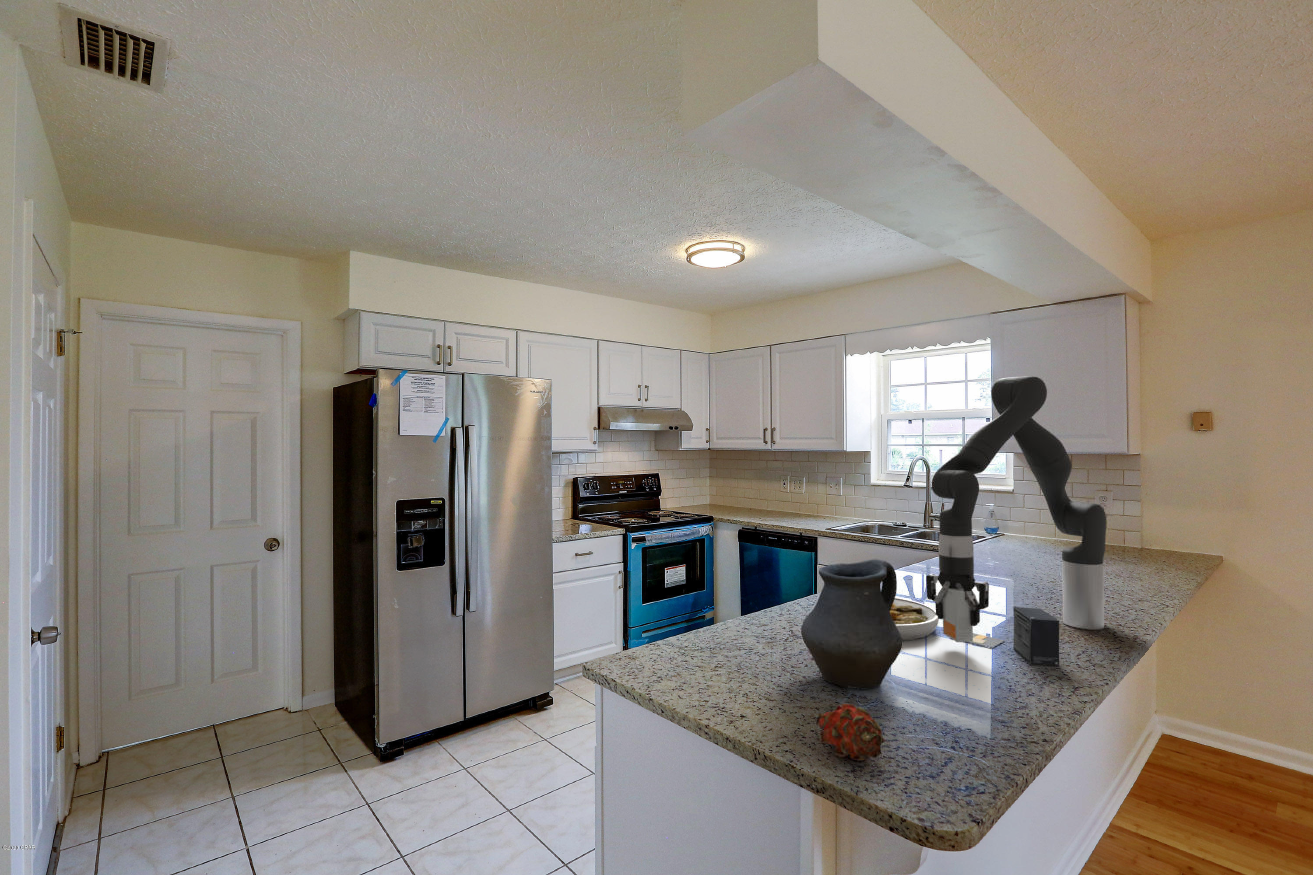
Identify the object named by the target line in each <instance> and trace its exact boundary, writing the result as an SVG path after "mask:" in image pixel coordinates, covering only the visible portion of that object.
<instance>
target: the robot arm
mask: <svg viewBox="0 0 1313 875" xmlns="http://www.w3.org/2000/svg"><path fill="white" fill-rule="evenodd" d="M990 393H991V394H990V397H991V400H992V404H993V406H994V408H995V410H996V411H997V413H998V414H999V415H998V416H997V417H995V418H994V419H993V420H990V421H989V422H988V423H987V424H985V425H983V426H982V427H980V428H979V429H978V430H976V431H975V432H974V433H973V434H972V435H971V436H970V437H969V438H968V440H967V441H966V442H965V444H964V445H963V447H961V449H960V450H959V452H958V453H957V454H955V455H954V456H952V457H951V458H950V459H949V460H948V461H947V462H945V463H944V464H943V465H942V466H940V467H939V468H938V469H937V470H936V471H935V473H934V474H933V477H932V479H931V485H930V486H931V490H932V491H933V492H932V493H933V494H935V496H937V497H938V498H942V499H948V500H953V502H952V506H951V507H950V508H946V509H943V510H941V511H940V513H939V519H938V520H939V521H938V522H939V537H938V548H937V550H938V571H939V574H937V575H936V574H935V573H931V574H928V575H926V577H925V582H926V599H928V600H931V601H933V602H934V603H935V604H934V605H935V610H936V616H938V619H939V620H943V597H944V596H945V593H946V592H947V590H948V588H951V589H957V590H959V591H964V592H965V596H966V597H965V601H966V602H967V603H968V604H969V606H970V607H971V609H972V610H970V615H971V626H973V627H975V626H977V625H978V624H980V622H981V610H985V609H986V608H988V607H989V606H990V605H989V602H990V601H989V600H990V597H989V596H990V585H989V584H990V583H989V582H987V581H984V582H981V581H976V579H975V575H974V574H975V562H974V560H975V558H974V557H975V556H974V554H975V552H974V550H975V549H974V540H973V522H972V521H973V519H972V518H973V514H974V511H975V508H976V503H977V501H978V496H979V492H980V483H979V480H978V478H977V476H976V475H979V474H981V473H983V472H984V471H985V470H986V469H987V468H988V467H989V465H990V464H991V462H992V461H993V460H994V458H995V457H996V455H997V454H998V453H999V451H1000V450H1001V449H1002V447H1004V445H1005V444H1006V443H1007V442H1008V441H1009V439H1011V438H1012V437H1014V439H1015V441H1016V443H1017V444H1018V446H1019V448H1020V450H1021V452H1022V454H1023V456H1024V458H1025V461H1026V464H1027V465H1028V466H1029V468H1030V470H1031V472H1032V474H1033V475H1034V477H1035V479H1036V481H1037V484H1038V485H1039V488H1040V489H1041V491H1042V492H1041V493H1042V495H1043V497H1044V498H1045V502H1046V504H1047V507H1048V509H1049V512H1050V516H1051V518H1052V521H1053V524H1054V525H1055V527H1056V528H1057V530H1058V531H1059V532H1060V533H1062V534H1064V535H1068V536H1075V537H1081V543H1080V544H1079V545H1077V546H1073V547H1068V548H1064V549H1063V550H1062V551H1061V568H1062V570H1061V572H1062V573H1061V574H1062V576H1061V577H1062V580H1061V582H1062V584H1061V585H1062V589H1061V590H1062V624H1064V625H1067V626H1070V627H1073V628H1078V629H1083V630H1103V629H1105V598H1104V596H1105V595H1104V592H1105V591H1104V590H1105V588H1104V584H1105V583H1104V577H1105V576H1104V557H1105V552H1106V537H1107V516H1106V511H1105V508H1103V507H1102V505H1101V504H1099V503H1092V502H1091V503H1090V502H1081V501H1080V502H1078V501H1073V500H1071V499H1070V497H1069V496H1068V493H1067V492H1066V486H1067V483H1068V480H1069V479H1070V476H1071V472H1072V468H1073V465H1072V464H1073V463H1072V461H1071V459H1070V456H1069V454H1068V453H1067V449H1066V447H1065V446H1064V444H1063V442H1061V440H1060V439H1059V438H1058V437H1057V436H1055V434H1053V433H1052V432H1050V431H1049V430H1048V429H1046V428H1045V426H1042V425H1041V424H1040V423H1039V422H1037V420H1035V419H1034V418H1033V417H1034V416H1035V415H1036V414H1037V413H1038V412H1039V411H1040V410H1041V408H1043V406H1044V405H1045V403H1046V399H1047V397H1048V388H1047V386H1046V383H1045V382H1044V380H1043V379H1042V378H1041V377H1038V376H1033V375H1030V376H1029V375H1027V376H1026V375H1025V376H1024V375H1023V376H1011V377H1003V378H999V379H997V380H996V381H994V382H993V384H992V386H991V389H990ZM937 583H939V584H940V586H941V589H940V590H939V591H938V592H937ZM974 588H976V591H977V592H978V599H977V596H976V594H975V593H974V590H973V589H974ZM967 591H972V597H970V596H969V595H968V593H967Z"/></svg>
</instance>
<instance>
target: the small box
mask: <svg viewBox="0 0 1313 875" xmlns="http://www.w3.org/2000/svg"><path fill="white" fill-rule="evenodd" d="M1012 610H1013V648H1012V649H1013V651H1014V650H1015V651H1014V652H1016V654H1018V656H1020V657H1021V658H1022V659H1023V660H1025V661H1026V662H1027V663H1028V664H1029V665H1035V666H1036V665H1038V666H1051V667H1060V620H1059V619H1057V618H1056V617H1054V616H1053V615H1051V614H1049V613H1048V612H1046V611H1045V610H1044V609H1042V608H1037V607H1036V608H1035V607H1025V606H1024V607H1023V606H1022V607H1021V606H1013V608H1012Z"/></svg>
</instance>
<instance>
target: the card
mask: <svg viewBox="0 0 1313 875" xmlns="http://www.w3.org/2000/svg"><path fill="white" fill-rule="evenodd" d="M949 638H950V637H949ZM950 640H952V639H951V638H950ZM1004 641H1005V642H1006V640H1005V639H1000V638H997V637H991V636H988V635H982V634H978V633H974V632H973V641H971V642H965V643H966V644H970V643H973V644H972V645H974V644H977V645H976V646H978V645H981V646H980V647H983V646H987V647H990V648H989V649H991V648H993V647H995V646H996V647H998V646H1000V645H1001V644H1000V643H1002V644H1003V643H1005V642H1004ZM999 644H1000V645H999ZM997 645H998V646H997ZM987 647H986V648H987ZM996 647H995V648H996ZM993 649H994V648H993Z"/></svg>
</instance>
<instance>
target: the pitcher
mask: <svg viewBox="0 0 1313 875" xmlns="http://www.w3.org/2000/svg"><path fill="white" fill-rule="evenodd" d="M818 575H819V576H820V578H821V580H822V581H823V587H822V589H821V592H820V594H819V597H818V599H817V602H816V604H815V605H814V607H813V609H812V610H811V611H810V612H809V613H808V614H807V615H806V617H805V618H804V620H803V621H802V625H801V631H800V634H801V638H802V640H803V642H804V645H805V646H806V648H807V649H808V651H809V654H811V657H812V658H813V662H815V665H816V667H817V668H818V670H819V672H820V674H821V676H822V678H823V679H824V680H825V681H826V682H828V683H830V684H833V685H837V686H839V687H842V688H851V689H852V688H854V689H866V690H867V689H873V688H877V687H878V686H881V685H882V682H883V681H884V679H885V677H886V676H887V673H888V672H889V671H890V668H891V667H892V665H893V664H894V663H895V662H896V660H897V658H898V656H899V655H900V653H901V651H902V648H903V646H904V645H903V644H904V643H903V641H904V640H903V641H902V637H901V634H900V632H899V630H898V628H897V627H896V625H895V623H894V621H893V619H892V617H891V615H890V610H891V607H892V604H893V602H894V599H895V598H896V596H897V589H898V588H897V587H898V583H897V582H898V580H897V573H896V570H895V568H894V566H893V565H892V563H890V562H887V561H886V560H883V559H876V558H874V559H873V558H872V559H866V560H863V561H858V562H851V563H836V564H835V563H834V564H828V565H825V566H821V567H819V569H818Z"/></svg>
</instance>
